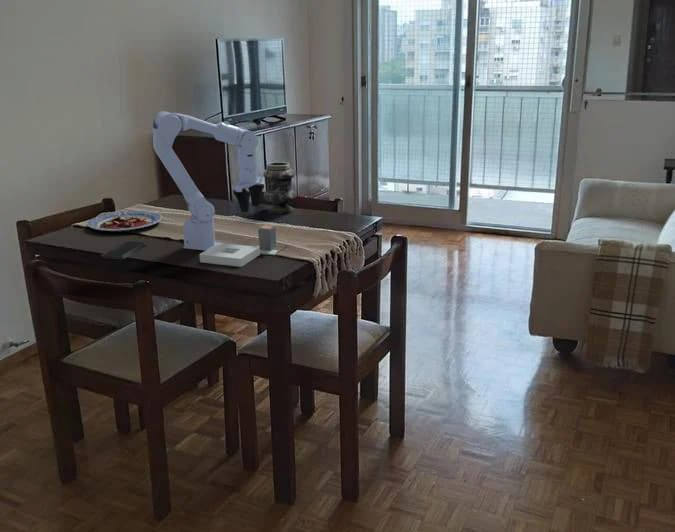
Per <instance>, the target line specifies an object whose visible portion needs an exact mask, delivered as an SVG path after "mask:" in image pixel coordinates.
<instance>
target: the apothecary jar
mask: <svg viewBox="0 0 675 532" xmlns="http://www.w3.org/2000/svg"><path fill="white" fill-rule="evenodd" d="M262 176H263V178H264V179H265V180H266V191H265V192H264V193H263V198H264V200H265V201H266V202H267V203H270V204H273V205H272V206H271V207H269V208H268V209H267V212H268V213H273V214H285V213H290V212H291V211H294V207H292V206H290V205H288V203H290V202H293V201H294V200H295V198H296V192H295V191H294V190H293V185H292V179H293V178H294V177H295V171H294V169H292V167H291V164H290V163H289V162H287V161H286V162H285V161H273V162H268V163H267V165H266V169H265V170H264V171H263V173H262Z"/></svg>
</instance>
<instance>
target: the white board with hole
mask: <svg viewBox="0 0 675 532" xmlns="http://www.w3.org/2000/svg"><path fill="white" fill-rule="evenodd" d="M260 255H261V254H260V247H256V246H255V245H244V244H233V243H223V242H220V243H219V244H217V245H215V246H213V247H212V248H210V249H208V250H203V252H201V253H199V262H200V263H205V264H214V265H222V266H223V265H224V266H229V267H232V266H233V267H238V268H242V267H243V266H245V265H247V264H248V263H249V262H251V261H253V260H254V259H256V258H257V257H258V256H259V257H260Z"/></svg>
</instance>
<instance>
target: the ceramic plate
mask: <svg viewBox="0 0 675 532" xmlns="http://www.w3.org/2000/svg"><path fill="white" fill-rule="evenodd" d="M119 216H120V217H119ZM121 216H132V217H130V219H127V218H124V217H121ZM133 216H134V217H136V218H134V217H133ZM115 217H116V218H115ZM137 217H142V218H147V219H150V220H151V221H152V222H151V223H149V224H146V221H144V220H146V219H141V218H137ZM110 219H112V220H110ZM162 219H163V216H162V215H161V214H159V213H157V212H153V211H149V210H148V211H147V210H146V211H144V210H128V211H118V212H112V213H111V212H110V213H107V214H106V213H105V214H102V215H99V216H95V217H93V218H91V219H90V220H88V221H87V223H86V224H87V227H89V228H91V229H94V230H98V231H107V232H110V233H111V232H114V233H115V232H116V233H120V232H121V233H123V232H122V231H124V232H131V231H130V230H133V231H137V230H136V229H138V230H141V229H140V228H142V229H144V227H145V228H146V227H151V226H152V225H155V224H157V223H159V222H161V220H162ZM108 220H109V221H108ZM106 221H107V222H106ZM144 224H146V225H144Z"/></svg>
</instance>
